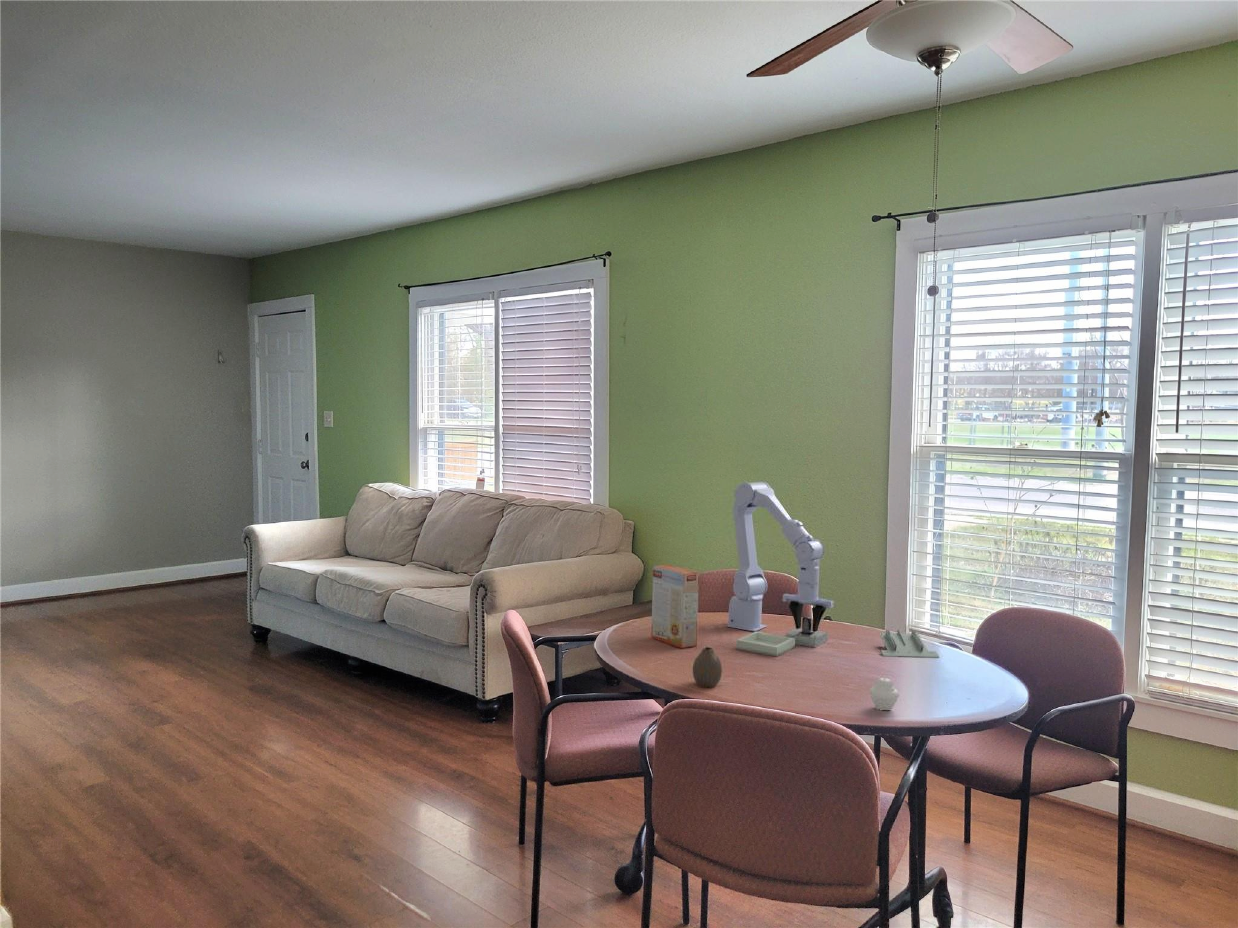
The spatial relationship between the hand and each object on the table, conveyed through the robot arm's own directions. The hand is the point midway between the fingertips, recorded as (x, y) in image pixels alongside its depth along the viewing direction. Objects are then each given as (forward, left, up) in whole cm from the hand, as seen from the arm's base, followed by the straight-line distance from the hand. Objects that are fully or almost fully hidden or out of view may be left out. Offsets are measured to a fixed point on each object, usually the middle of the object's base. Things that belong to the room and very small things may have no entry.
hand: (806, 629), depth 248 cm
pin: (0, 0, -3) cm, 3 cm away
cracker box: (-29, -25, -4) cm, 38 cm away
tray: (-6, -14, -3) cm, 16 cm away
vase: (-3, -53, -4) cm, 53 cm away
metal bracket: (+25, +8, -4) cm, 27 cm away
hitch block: (0, 0, -3) cm, 3 cm away
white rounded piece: (+36, -43, -4) cm, 56 cm away
